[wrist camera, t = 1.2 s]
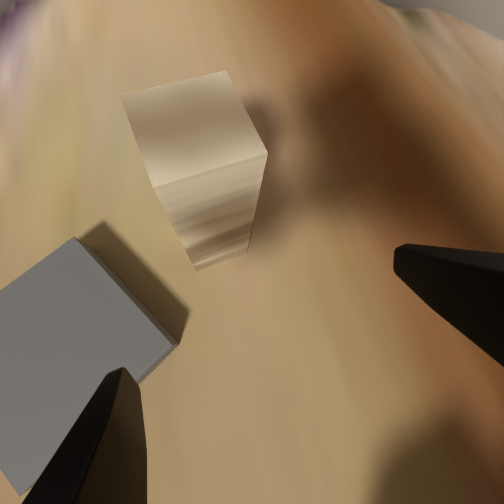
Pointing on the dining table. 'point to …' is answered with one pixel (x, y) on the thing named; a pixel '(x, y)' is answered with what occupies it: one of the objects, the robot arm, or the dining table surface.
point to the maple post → (201, 162)
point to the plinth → (65, 352)
